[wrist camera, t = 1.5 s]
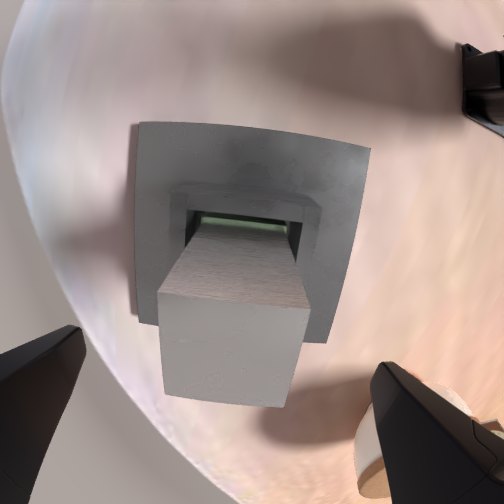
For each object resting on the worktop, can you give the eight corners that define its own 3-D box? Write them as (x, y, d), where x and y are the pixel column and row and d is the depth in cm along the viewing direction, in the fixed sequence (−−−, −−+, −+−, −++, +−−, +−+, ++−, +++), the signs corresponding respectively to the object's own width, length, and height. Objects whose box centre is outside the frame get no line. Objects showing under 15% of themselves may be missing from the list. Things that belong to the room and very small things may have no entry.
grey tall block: (281, 214, 17) (318, 304, 7) (271, 283, 19) (285, 414, 9) (209, 205, 17) (151, 286, 7) (204, 275, 19) (161, 400, 9)
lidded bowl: (388, 349, 22) (439, 448, 12) (464, 366, 24) (511, 434, 13) (319, 433, 26) (334, 519, 16) (400, 437, 28) (425, 503, 17)
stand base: (364, 148, 17) (400, 150, 12) (323, 335, 22) (337, 379, 17) (145, 122, 16) (109, 116, 12) (143, 315, 21) (119, 355, 16)
